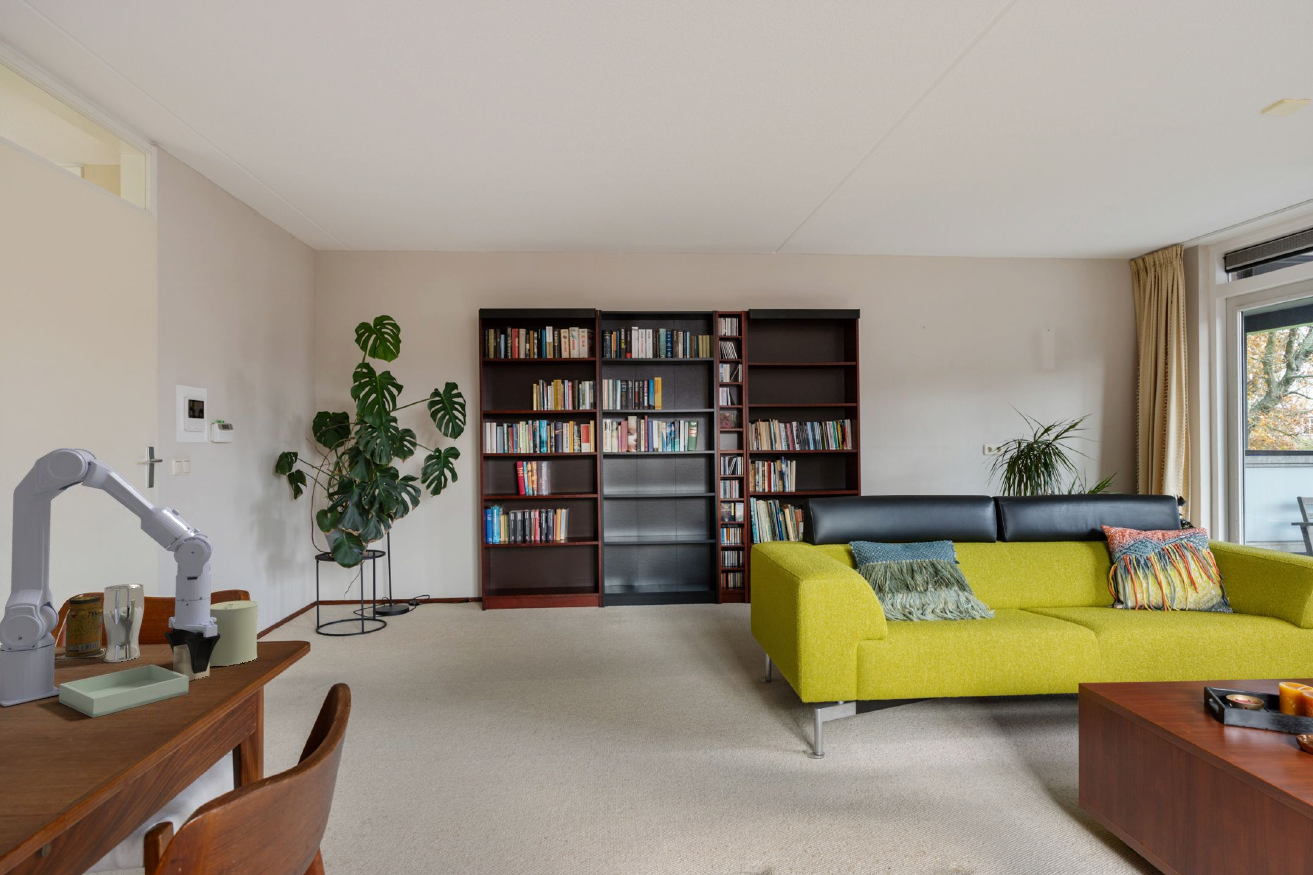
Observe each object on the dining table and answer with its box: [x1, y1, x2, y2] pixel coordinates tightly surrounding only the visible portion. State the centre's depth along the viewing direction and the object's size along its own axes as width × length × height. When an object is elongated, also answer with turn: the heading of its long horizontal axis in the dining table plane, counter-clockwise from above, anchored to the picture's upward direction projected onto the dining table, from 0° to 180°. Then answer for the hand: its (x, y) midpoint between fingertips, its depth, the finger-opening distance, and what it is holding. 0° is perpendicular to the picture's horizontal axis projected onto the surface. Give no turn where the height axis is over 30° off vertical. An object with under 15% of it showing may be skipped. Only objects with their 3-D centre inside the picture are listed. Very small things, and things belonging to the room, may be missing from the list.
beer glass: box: [102, 583, 145, 663], centre depth 147 cm, size 7×7×15 cm
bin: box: [58, 664, 190, 718], centre depth 123 cm, size 14×14×3 cm
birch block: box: [172, 644, 211, 682], centre depth 134 cm, size 4×4×6 cm
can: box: [210, 600, 259, 667], centre depth 146 cm, size 9×9×12 cm
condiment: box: [55, 595, 106, 660], centre depth 150 cm, size 7×8×12 cm
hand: (191, 669), depth 134 cm, fingers open, 6 cm apart
